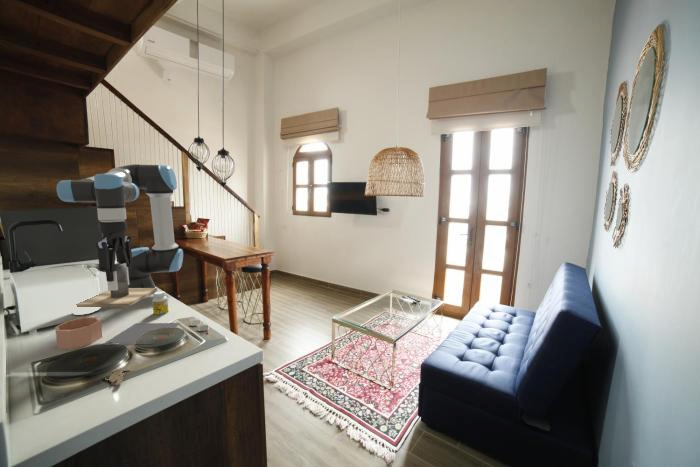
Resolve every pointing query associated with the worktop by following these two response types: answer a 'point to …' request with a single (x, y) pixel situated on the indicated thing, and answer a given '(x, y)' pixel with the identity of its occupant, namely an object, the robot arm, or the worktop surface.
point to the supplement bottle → (160, 303)
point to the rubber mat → (137, 332)
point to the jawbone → (117, 377)
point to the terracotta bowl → (78, 332)
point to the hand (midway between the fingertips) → (119, 287)
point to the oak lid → (118, 292)
